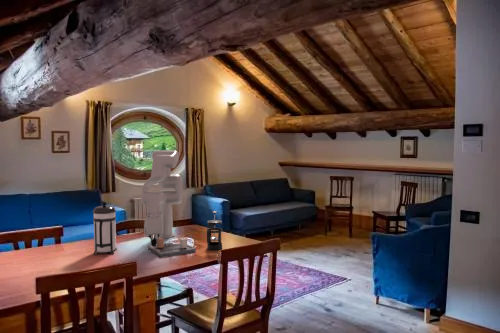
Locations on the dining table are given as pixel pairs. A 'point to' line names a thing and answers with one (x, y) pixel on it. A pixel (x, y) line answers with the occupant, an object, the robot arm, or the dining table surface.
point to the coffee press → (104, 229)
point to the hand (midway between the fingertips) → (153, 245)
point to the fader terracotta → (160, 242)
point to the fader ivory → (183, 242)
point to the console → (170, 250)
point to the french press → (214, 245)
